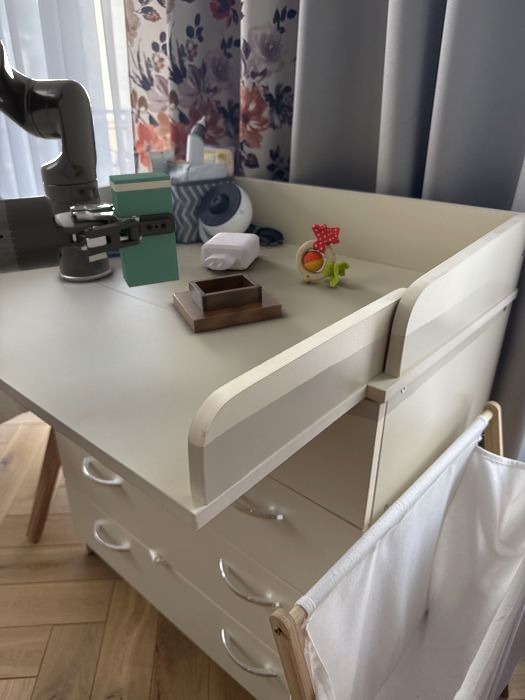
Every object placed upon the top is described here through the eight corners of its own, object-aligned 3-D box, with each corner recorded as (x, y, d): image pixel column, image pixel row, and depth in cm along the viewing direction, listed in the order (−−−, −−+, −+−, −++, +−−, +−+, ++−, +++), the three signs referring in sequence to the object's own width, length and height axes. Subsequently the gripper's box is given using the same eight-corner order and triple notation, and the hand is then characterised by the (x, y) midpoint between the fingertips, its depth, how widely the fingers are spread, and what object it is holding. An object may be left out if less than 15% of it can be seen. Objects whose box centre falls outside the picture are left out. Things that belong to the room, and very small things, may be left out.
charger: (190, 277, 101) (217, 254, 114) (238, 281, 99) (259, 256, 111) (188, 253, 99) (215, 231, 111) (237, 256, 96) (259, 234, 109)
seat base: (194, 332, 79) (192, 304, 77) (173, 304, 89) (170, 278, 87) (281, 316, 84) (281, 289, 82) (252, 291, 94) (251, 266, 92)
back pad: (128, 288, 63) (113, 180, 57) (122, 278, 66) (108, 175, 60) (179, 280, 65) (170, 175, 59) (172, 271, 68) (162, 171, 62)
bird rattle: (304, 299, 96) (352, 283, 92) (279, 241, 92) (328, 222, 88) (311, 287, 101) (357, 272, 97) (288, 232, 98) (335, 214, 94)
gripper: (0, 214, 50) (183, 196, 55) (1, 188, 61) (152, 175, 67) (18, 291, 53) (189, 266, 59) (16, 252, 65) (158, 235, 71)
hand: (168, 218), depth 63 cm, fingers closed on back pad, 3 cm apart
